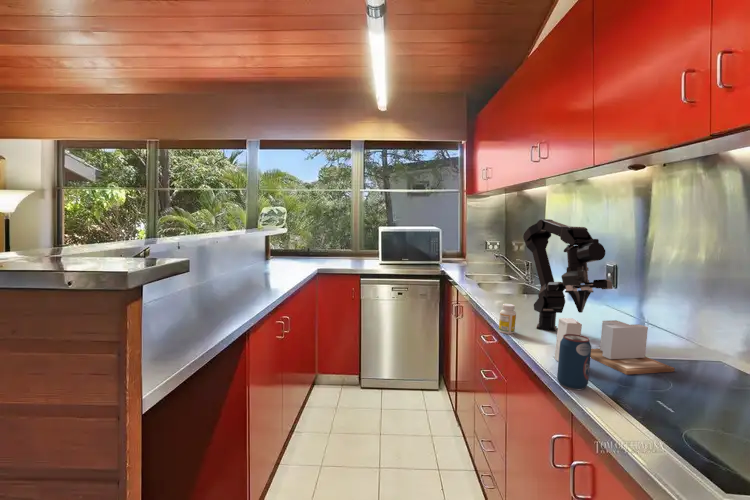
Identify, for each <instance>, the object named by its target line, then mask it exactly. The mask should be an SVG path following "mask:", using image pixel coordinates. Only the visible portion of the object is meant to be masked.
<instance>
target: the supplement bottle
mask: <svg viewBox="0 0 750 500" xmlns="http://www.w3.org/2000/svg"><path fill="white" fill-rule="evenodd" d="M516 319H517V312H516V311H515V304H511V303H503V304H502V309H501V310H500V312H499V324H498V332H500V333H501V334H505V335H506V334H507V335H512V334H515V332H516V331H515V330H516V329H515V328H516Z"/></svg>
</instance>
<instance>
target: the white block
mask: <svg viewBox="0 0 750 500" xmlns="http://www.w3.org/2000/svg"><path fill="white" fill-rule="evenodd" d="M648 328H649V327H648V326H645V325H642V324H640V323H639V324H628V323H627V322H623V321H620V320H616V319H615V320H612V319H610V320H602V322H601V331H600V333H601V334H600V345H599V349H600V350H601V351H603V355H602V356H604V357H606V358H608V359H627V358H645V357H646V349H647V340H648V331H649V329H648Z"/></svg>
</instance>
